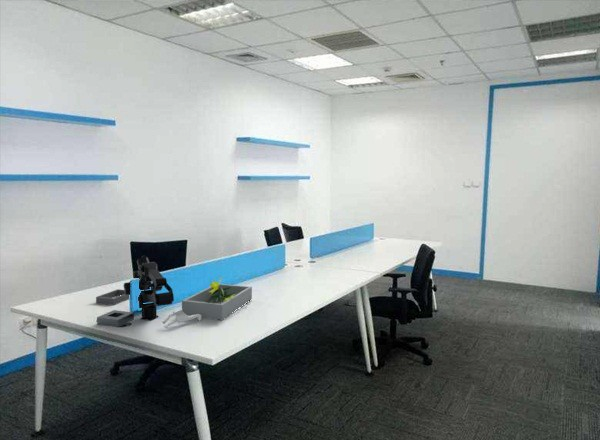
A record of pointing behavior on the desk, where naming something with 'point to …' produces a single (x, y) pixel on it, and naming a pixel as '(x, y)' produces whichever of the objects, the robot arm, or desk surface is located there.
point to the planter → (214, 310)
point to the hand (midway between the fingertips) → (140, 294)
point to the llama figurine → (181, 317)
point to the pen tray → (109, 296)
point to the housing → (115, 318)
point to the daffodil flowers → (218, 291)
